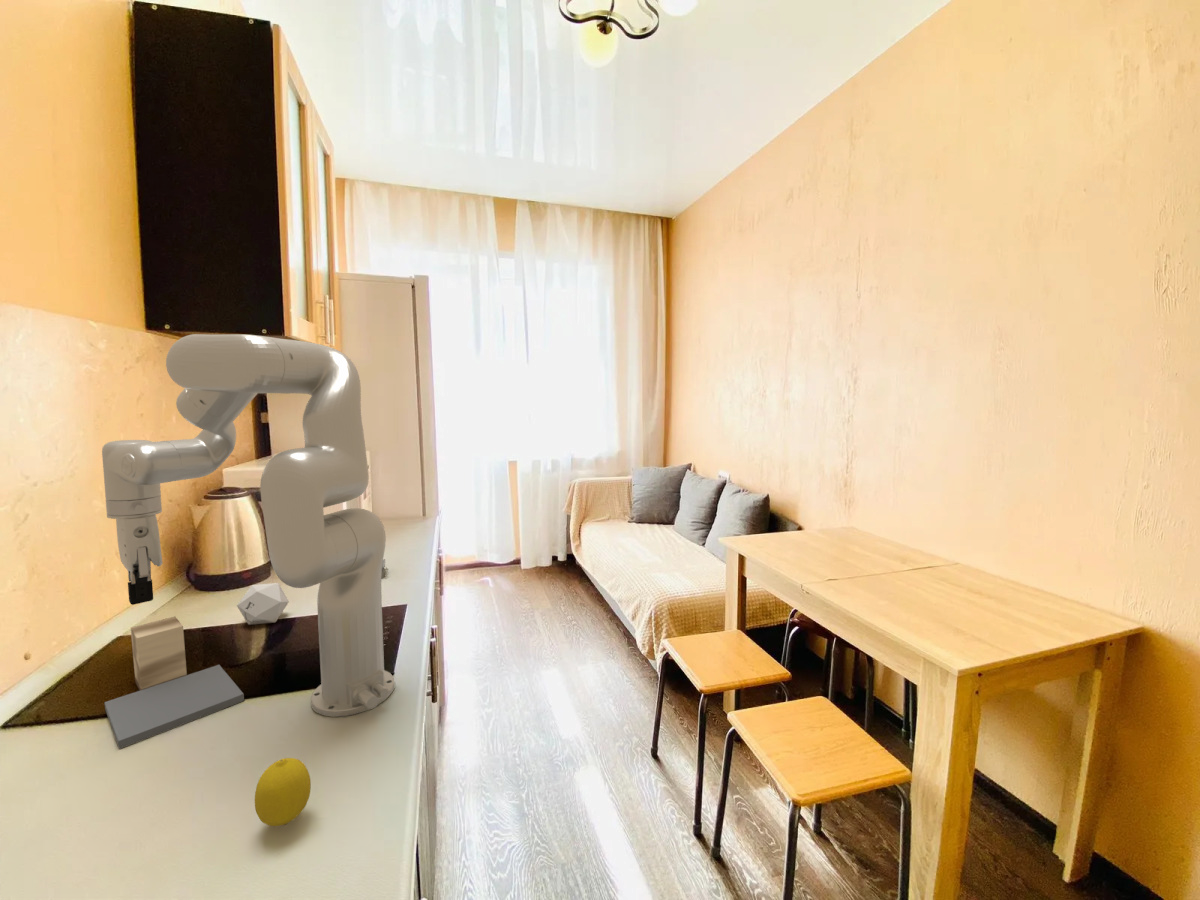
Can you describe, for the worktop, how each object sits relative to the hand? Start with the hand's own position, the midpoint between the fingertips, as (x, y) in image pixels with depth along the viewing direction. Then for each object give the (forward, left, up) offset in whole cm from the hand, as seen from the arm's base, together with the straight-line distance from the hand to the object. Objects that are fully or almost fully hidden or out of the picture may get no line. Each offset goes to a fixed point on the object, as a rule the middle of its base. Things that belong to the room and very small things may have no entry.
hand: (141, 601), depth 95 cm
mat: (-23, 0, -11) cm, 26 cm away
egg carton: (+13, -50, -12) cm, 53 cm away
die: (+2, -20, -12) cm, 23 cm away
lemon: (-62, -3, -12) cm, 64 cm away
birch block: (-12, 0, -11) cm, 17 cm away
